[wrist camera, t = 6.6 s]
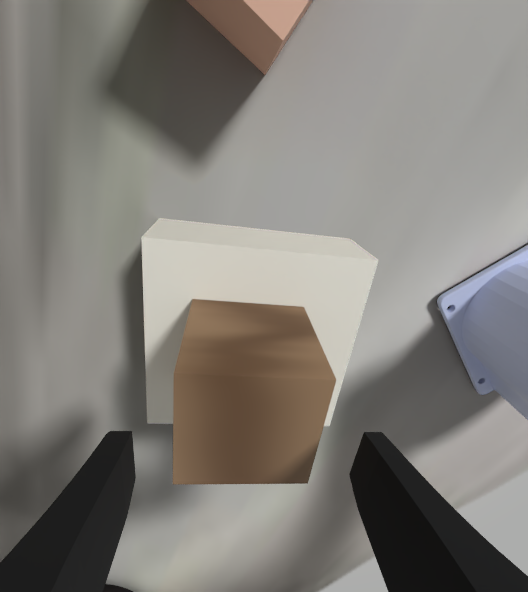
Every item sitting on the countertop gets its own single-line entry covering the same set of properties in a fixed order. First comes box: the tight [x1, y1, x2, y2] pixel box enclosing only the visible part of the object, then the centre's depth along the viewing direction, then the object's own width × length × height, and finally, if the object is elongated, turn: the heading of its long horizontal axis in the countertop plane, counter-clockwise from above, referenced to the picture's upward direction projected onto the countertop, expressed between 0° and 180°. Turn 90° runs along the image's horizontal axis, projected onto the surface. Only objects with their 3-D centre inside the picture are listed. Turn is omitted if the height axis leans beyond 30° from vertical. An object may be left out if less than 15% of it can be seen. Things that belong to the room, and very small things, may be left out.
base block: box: [141, 218, 379, 426], centre depth 17 cm, size 10×10×4 cm
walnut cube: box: [173, 299, 336, 484], centre depth 13 cm, size 5×5×5 cm
